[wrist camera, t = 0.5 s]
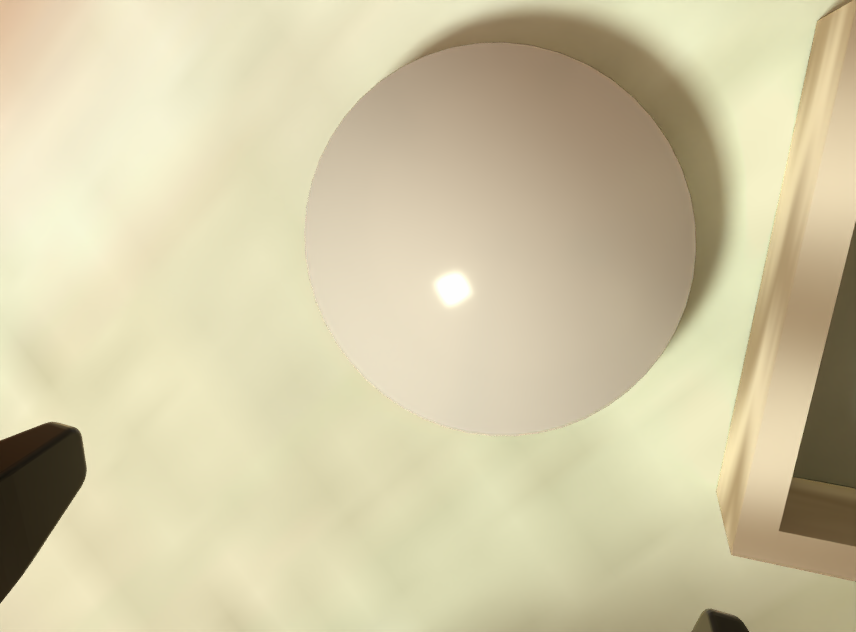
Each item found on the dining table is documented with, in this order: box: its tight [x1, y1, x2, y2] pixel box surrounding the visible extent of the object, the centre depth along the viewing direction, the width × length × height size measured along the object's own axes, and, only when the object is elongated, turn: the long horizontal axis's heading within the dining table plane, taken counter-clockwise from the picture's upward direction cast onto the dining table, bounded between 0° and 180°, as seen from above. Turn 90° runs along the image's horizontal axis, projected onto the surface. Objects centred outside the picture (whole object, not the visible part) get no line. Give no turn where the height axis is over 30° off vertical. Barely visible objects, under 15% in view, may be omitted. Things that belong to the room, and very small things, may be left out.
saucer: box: [304, 42, 696, 436], centre depth 21 cm, size 12×12×1 cm
